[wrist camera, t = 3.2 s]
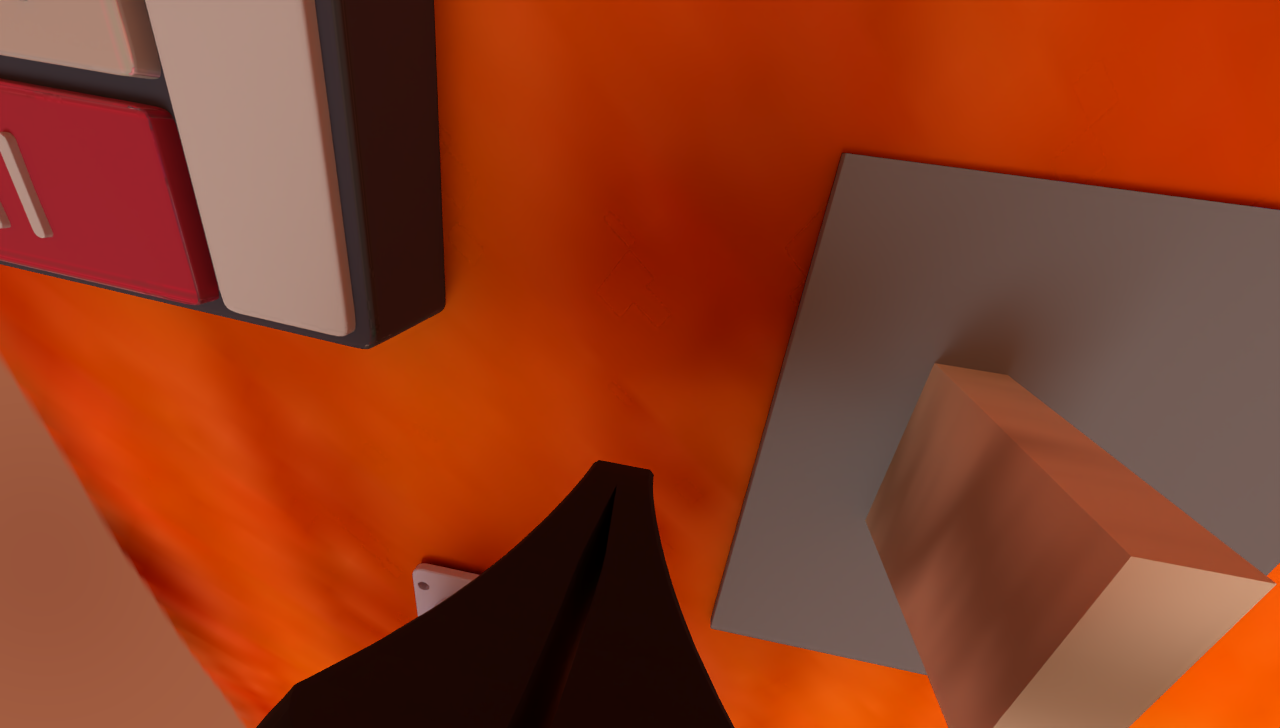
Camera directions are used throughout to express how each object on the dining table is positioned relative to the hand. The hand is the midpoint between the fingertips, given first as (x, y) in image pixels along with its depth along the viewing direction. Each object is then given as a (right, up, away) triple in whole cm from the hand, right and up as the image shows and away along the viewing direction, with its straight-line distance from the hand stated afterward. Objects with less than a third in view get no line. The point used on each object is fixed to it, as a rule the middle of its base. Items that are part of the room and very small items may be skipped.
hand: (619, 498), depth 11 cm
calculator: (-12, +11, +3) cm, 17 cm away
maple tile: (+9, 0, +3) cm, 10 cm away
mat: (+12, -1, +4) cm, 13 cm away
